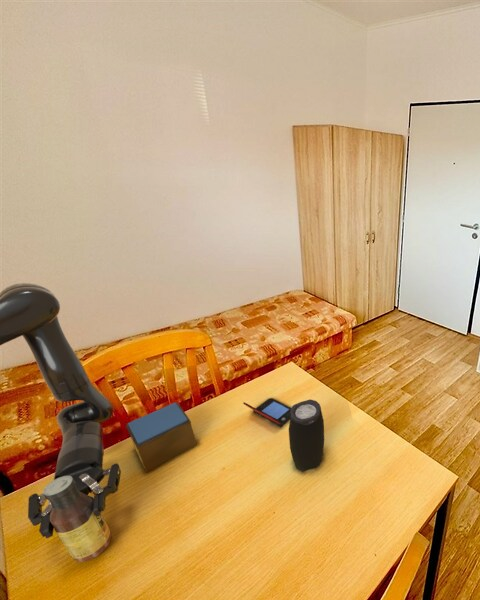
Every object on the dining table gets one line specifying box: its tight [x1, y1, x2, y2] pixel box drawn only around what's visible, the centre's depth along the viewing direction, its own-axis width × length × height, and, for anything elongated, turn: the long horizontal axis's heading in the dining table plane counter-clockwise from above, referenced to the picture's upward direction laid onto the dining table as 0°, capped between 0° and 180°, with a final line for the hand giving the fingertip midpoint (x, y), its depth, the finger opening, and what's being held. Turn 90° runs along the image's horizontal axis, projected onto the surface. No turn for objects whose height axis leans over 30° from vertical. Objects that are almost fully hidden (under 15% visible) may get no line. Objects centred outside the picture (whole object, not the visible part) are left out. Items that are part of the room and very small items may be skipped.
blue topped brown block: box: [125, 402, 197, 473], centre depth 89 cm, size 12×10×10 cm
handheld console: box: [242, 397, 292, 428], centre depth 103 cm, size 12×11×7 cm
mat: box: [127, 402, 188, 445], centre depth 87 cm, size 11×9×1 cm
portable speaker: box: [288, 398, 325, 473], centre depth 87 cm, size 9×9×20 cm
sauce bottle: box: [42, 476, 112, 563], centre depth 63 cm, size 7×6×20 cm
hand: (73, 523), depth 61 cm, fingers closed on sauce bottle, 6 cm apart
